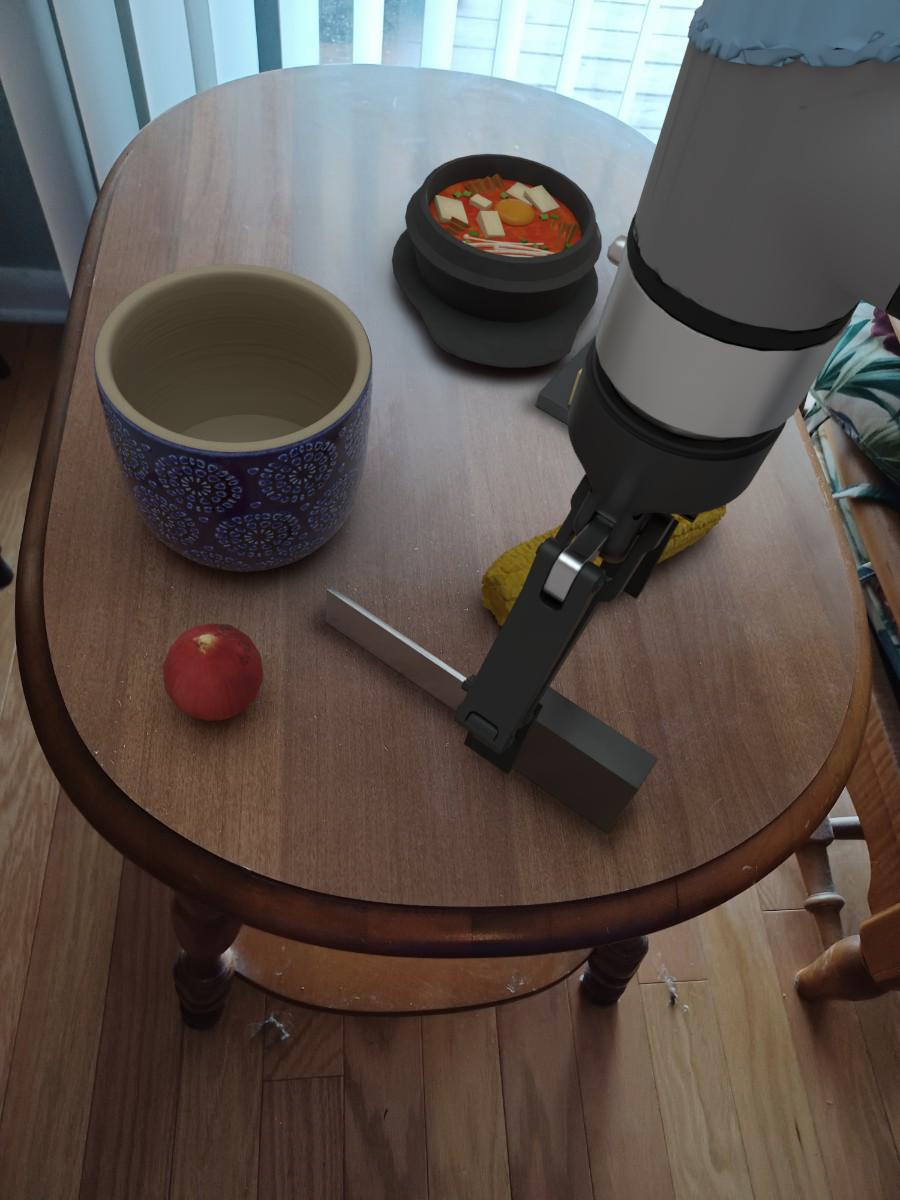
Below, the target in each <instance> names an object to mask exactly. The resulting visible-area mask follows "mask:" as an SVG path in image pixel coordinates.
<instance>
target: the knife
mask: <svg viewBox="0 0 900 1200" xmlns="http://www.w3.org/2000/svg"><path fill="white" fill-rule="evenodd" d="M325 595H326V597H325V623H326V624H328V625H330V626H331V627H332V628H334V629H335V630H337V631H338V632H340V633H341V634H343V635H344V636H345V637H347V638H349V639H350V640H351V641H352V642H354V643H356V644H357V645H359V646H360V647H361V648H363V649H364V650H366V651H367V652H369V653H370V654H371V655H373V656H374V657H376V658H377V659H379V660H380V661H381V662H383V663H385V664H386V665H387V666H388V667H390V668H392V669H393V670H395V671H396V672H398V673H399V674H400V675H402V676H403V677H405V678H406V679H408V680H409V681H411V682H412V683H414V684H415V685H416V686H418V687H419V688H420V689H422V690H424V692H427V693H428V694H429V695H431V696H432V697H434V698H435V699H437V700H438V701H440V702H441V703H443V704H444V705H446V706H447V707H448V708H450V709H451V710H453V711H454V712H456V710H457V708H458V706H459V705H460V704H461V703H462V702H463V700H464V698H465V696H466V694H467V692H465V691H464V690H462V689H461V685H462V683H463V681H464V680H466V679H467V678H468V677H466V676H465V675H463V674H462V673H461V672H459V671H458V670H456V669H454V668H453V667H451V666H450V665H448V664H447V663H445V662H444V661H442V660H441V659H440V658H438V657H436V656H435V655H434V654H432V653H431V652H429V651H428V650H426V649H424V648H423V647H422V646H420V645H419V644H417V643H416V642H414V641H413V640H412V639H410V638H408V637H407V636H406V635H404V634H403V633H401V632H400V631H398V630H397V629H395V628H393V627H392V626H391V625H389V624H388V623H386V622H385V621H383V620H382V619H380V618H379V617H377V616H376V615H374V614H373V613H371V612H370V611H368V610H367V609H365V608H364V607H363V606H362V605H359V604H358V603H357V602H355V601H354V600H352V599H350V598H349V597H347V596H346V595H345V594H343V593H342V592H340V591H339V590H338V589H336V588H335V587H333V586H331V585H329V586H327V588H326V593H325ZM539 703H540V704H542V705H543V707H542V709H541V711H540V713H539V716H538V718H537V720H536V722H535V724H534V726H533V728H532V731H531V733H530V735H529V737H528V739H527V741H526V743H525V746H524V748H523V750H522V752H521V754H520V756H519V758H518V761H517V763H516V764H515V766H514V767H513V769H514V770H515V771H516V772H518V773H519V774H521V775H522V776H524V777H525V778H526V779H528V780H529V781H531V782H532V783H533V784H535V785H537V786H538V787H539V788H541V789H542V790H543V791H545V792H546V793H548V794H549V795H551V796H552V797H554V798H555V799H556V800H558V801H560V802H561V803H563V804H564V805H566V806H567V808H569V809H570V810H572V811H574V812H575V813H577V814H578V815H579V816H582V817H583V818H584V819H586V820H587V821H588V822H590V823H591V824H593V825H594V826H596V827H597V828H599V829H600V830H601V831H603V832H604V833H606V834H607V833H608V832H609V831H610V829H611V828H612V827H613V825H614V824H615V823H616V822H617V820H618V819H619V817H620V816H621V815H622V813H623V812H624V811H625V809H626V808H627V807H628V805H629V804H630V803H631V801H632V800H633V798H634V797H635V796H636V794H638V792H639V790H640V789H641V787H642V786H643V785H644V783H645V781H646V779H647V778H648V776H649V775H650V773H651V771H652V770H653V769H654V767H655V765H656V763H657V762H658V760H659V757H656V756H655V755H654V754H652V753H650V752H649V751H647V750H646V749H644V747H641V746H640V745H639V744H637V743H636V742H634V741H632V740H631V739H629V738H628V737H626V735H625V736H624V734H622V733H621V732H619V731H618V730H616V729H614V728H613V727H611V726H610V725H608V724H607V723H605V722H604V721H602V720H601V719H599V718H598V717H596V716H594V715H593V714H591V713H590V712H588V711H587V710H586V709H584V708H582V707H581V706H579V705H578V704H577V703H575V702H574V701H572V700H570V699H569V698H568V697H566V696H565V695H563V694H561V693H560V692H559V691H557V690H555V689H554V688H552V687H551V686H549V687H548V689H547V691H546V692H545V694H544V695H543V697H542V699H541V700H540V702H539Z"/></svg>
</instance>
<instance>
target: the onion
mask: <svg viewBox="0 0 900 1200" xmlns="http://www.w3.org/2000/svg"><path fill="white" fill-rule="evenodd" d="M162 676H163V687H164V690H165V692H166V694H167V695H168V697H169V698H170V699H171V701H172V702H173V704H174V705H175V707H176V708H177V709H179V710H180V711H182V712H183V713H185V714H186V715H188V716H189V717H191V718H196V719H199V720H204V721H208V722H211V721H222V720H229V719H230V718H233V717H235V716H236V715H238V714H240V713H243V711H246V709H247V708H248V707H249V706H250V705H251V704H252V703H253V701H254V700H255V699H257V696H258V693H259V691H260V688H261V685H262V682H263V677H264V671H263V658H262V656H261V653H260V651H259V650H258V647H256V644H254V641H253V640H252V639H251V637H250V636H249V635H247V634H246V633H245V632H243V631H241V630H240V629H238V628H237V627H235V626H233V625H231V624H229V623H208V624H200V625H195V626H193V627H191V628H189V629H187V630H185V631H184V632H182V633H180V635H179V636H178V637H177V639H175V640H174V642H173V643H172V644H171V645H170V647H169V649H168V652H167V655H166V657H165V659H164V662H163V664H162Z"/></svg>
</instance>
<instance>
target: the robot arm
mask: <svg viewBox="0 0 900 1200" xmlns="http://www.w3.org/2000/svg"><path fill="white" fill-rule="evenodd" d="M693 13H694V14H693V17H692V19H691V20H690V24H689V26H688V33H687V38H688V42H687V45H686V48H685V51H684V55H683V58H682V62H681V65H680V68H679V71H678V74H677V77H676V81H675V84H674V87H673V91H672V94H671V97H670V100H669V103H668V106H667V110H666V112H665V116H664V120H663V123H662V126H661V129H660V133H659V135H658V138H657V143H656V146H655V149H654V152H653V155H652V160H651V162H650V165H649V168H648V172H647V174H646V178H645V180H644V184H643V188H642V191H641V194H640V198H639V201H638V204H637V208H636V210H635V213H634V215H633V217H632V218H631V222H630V224H629V229H628V232H627V235H623V234H621V235H618V236H616V238H615V239H614V240H613V241H612V242H611V244H610V245H608V247H607V252H606V256H607V260H608V261H609V263H610V264H612V265H613V266H615V267H617V270H616V271H615V275H614V279H613V281H612V283H611V287H610V289H609V292H608V294H607V297H606V300H605V303H604V305H603V309H602V312H601V316H600V319H599V321H598V324H597V328H596V333H595V335H596V337H595V339H594V340H593V342H592V344H591V345H590V347H589V350H588V353H587V356H586V359H585V362H584V365H583V368H582V371H581V374H580V377H579V380H578V383H577V386H576V389H575V392H574V395H573V398H572V401H571V404H570V408H569V413H568V425H567V432H568V438H569V441H570V444H571V447H572V450H573V452H574V454H575V456H576V457H577V460H578V461H579V463H580V465H581V467H582V468H583V471H584V472H585V474H584V475H583V476H582V478H581V480H580V482H579V483H578V485H577V487H576V488H575V490H574V492H573V493H572V495H571V498H570V510H569V512H568V513H567V516H566V517H565V519H564V521H563V522H562V524H561V525H562V526H561V528H560V529H559V531H558V533H557V534H556V536H555V538H553V537H551V536H550V537H549V538H547V539H546V540H545V541H544V543H543V542H542V543H541V544H540V545H539V547H538V548H537V550H536V552H535V554H536V556H535V558H534V561H533V563H532V566H531V568H530V571H529V573H528V576H527V578H526V581H525V583H524V585H523V588H522V590H521V592H520V594H519V595H518V597H517V599H516V601H515V603H514V605H513V607H512V609H511V611H510V613H509V614H508V616H507V618H506V620H505V622H504V624H503V626H502V627H501V628H500V629H499V632H498V633H497V635H496V638H495V639H494V642H493V643H492V645H491V647H490V649H489V650H488V653H487V655H486V657H485V658H484V660H483V662H482V664H481V666H480V668H479V669H478V672H477V674H476V675H475V674H472V675H470V676H467V677H466V678H467V679H466V680H464V681H463V683H462V685H461V689H462V690H464V691H465V692H467V694H466V696H465V698H464V700H463V702H462V703H461V704H460V705H459V706H458V708H457V710H456V711H455V715H454V716H453V721H454V722H455V723H457V724H458V725H460V726H461V727H462V728H463V729H465V730H467V733H466V736H465V739H464V741H463V744H464V746H466V747H468V749H470V750H471V751H473V752H475V753H476V754H477V755H479V756H480V757H481V758H483V759H484V760H486V761H487V762H489V763H490V764H492V765H493V766H495V767H496V768H497V769H499V770H500V771H502V772H503V773H504V774H506V775H507V776H509V774H510V773H511V772H512V770H513V769H514V768H513V767H514V766H515V764H516V763H517V761H518V758H519V756H520V754H521V752H522V750H523V748H524V746H525V743H526V741H527V739H528V737H529V735H530V733H531V731H532V728H533V726H534V724H535V722H536V720H537V718H538V716H539V713H540V711H541V709H542V707H543V705H542V704H540V703H539V702H540V700H541V699H542V697H543V695H544V694H545V692H546V691H547V689H548V687H551V684H552V683H553V681H554V679H555V678H556V676H557V674H558V673H559V672H560V670H561V668H562V667H563V665H564V663H565V662H566V660H567V658H568V657H569V655H570V654H571V652H572V650H573V648H574V647H575V645H576V644H577V642H578V641H579V639H580V637H581V636H582V634H583V633H584V631H585V630H586V628H587V626H588V624H590V622H591V620H592V618H593V617H594V615H595V614H596V612H597V610H598V608H599V607H600V605H601V604H602V603H610V602H612V601H614V600H615V599H616V598H618V597H619V596H620V595H621V594H622V593H623V592H624V593H625V594H627V595H629V596H630V597H631V598H633V599H634V600H637V599H638V598H639V596H640V595H641V594H642V593H643V591H644V589H645V587H646V585H647V583H648V581H649V579H650V578H651V576H652V574H653V572H654V570H655V568H656V567H657V565H658V564H659V563H658V561H659V559H660V557H661V555H662V553H663V552H664V550H665V548H666V546H667V544H668V542H669V541H670V539H671V537H672V535H673V533H674V531H675V529H676V528H677V526H678V524H679V521H677V520H676V519H675V517H674V516H672V514H678V515H679V516H681V517H683V518H684V519H686V520H688V521H689V522H691V523H693V522H694V521H695V519H696V518H697V516H698V515H699V513H703V512H708V511H711V510H714V509H717V508H720V507H722V506H724V505H726V504H727V505H728V504H730V503H731V502H733V501H734V500H736V499H737V498H738V497H740V496H741V495H742V494H743V493H744V492H745V491H746V490H747V489H748V487H749V486H750V485H751V483H752V481H754V479H755V477H756V475H757V473H758V471H759V470H760V468H761V467H762V465H763V464H764V462H765V460H766V458H767V457H768V455H769V454H770V452H771V451H772V449H773V447H774V445H775V444H776V442H777V441H778V439H779V437H780V436H781V434H782V432H783V430H784V429H785V427H786V424H787V421H788V420H789V419H790V418H792V416H794V415H795V414H796V412H797V410H798V409H799V407H800V405H801V404H802V402H803V401H804V399H805V397H806V396H807V394H808V393H809V391H810V389H811V388H812V386H813V385H814V383H815V381H816V380H817V378H818V376H819V375H820V373H821V372H822V370H823V368H825V367H824V366H825V365H826V363H827V362H828V360H829V358H831V356H832V354H833V352H834V350H835V349H836V347H837V345H838V344H839V343H840V341H841V339H842V337H843V336H844V334H845V332H846V331H847V329H848V328H849V326H850V324H851V323H852V319H853V315H854V314H855V311H856V310H857V308H858V307H859V305H860V303H861V301H862V302H864V303H866V304H868V305H869V306H872V307H874V308H876V309H878V310H881V311H882V312H885V313H886V314H887V315H889V316H891V317H893V318H894V319H896V320H897V321H900V0H703V1H702V4H701V5H700V6H698V7H697V8H696V9H695V10H694V11H693ZM727 505H726V506H727ZM575 536H576V538H575V539H574V540H573V538H574V537H575ZM572 540H573V542H572ZM571 542H572V543H571ZM570 543H571V544H570ZM598 556H599V557H600V558H602V559H603V560H602V562H601V565H600V567H599V566H597V565H596V564H594V563H593V562H594V561H595V559H596V558H597V557H598Z"/></svg>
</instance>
